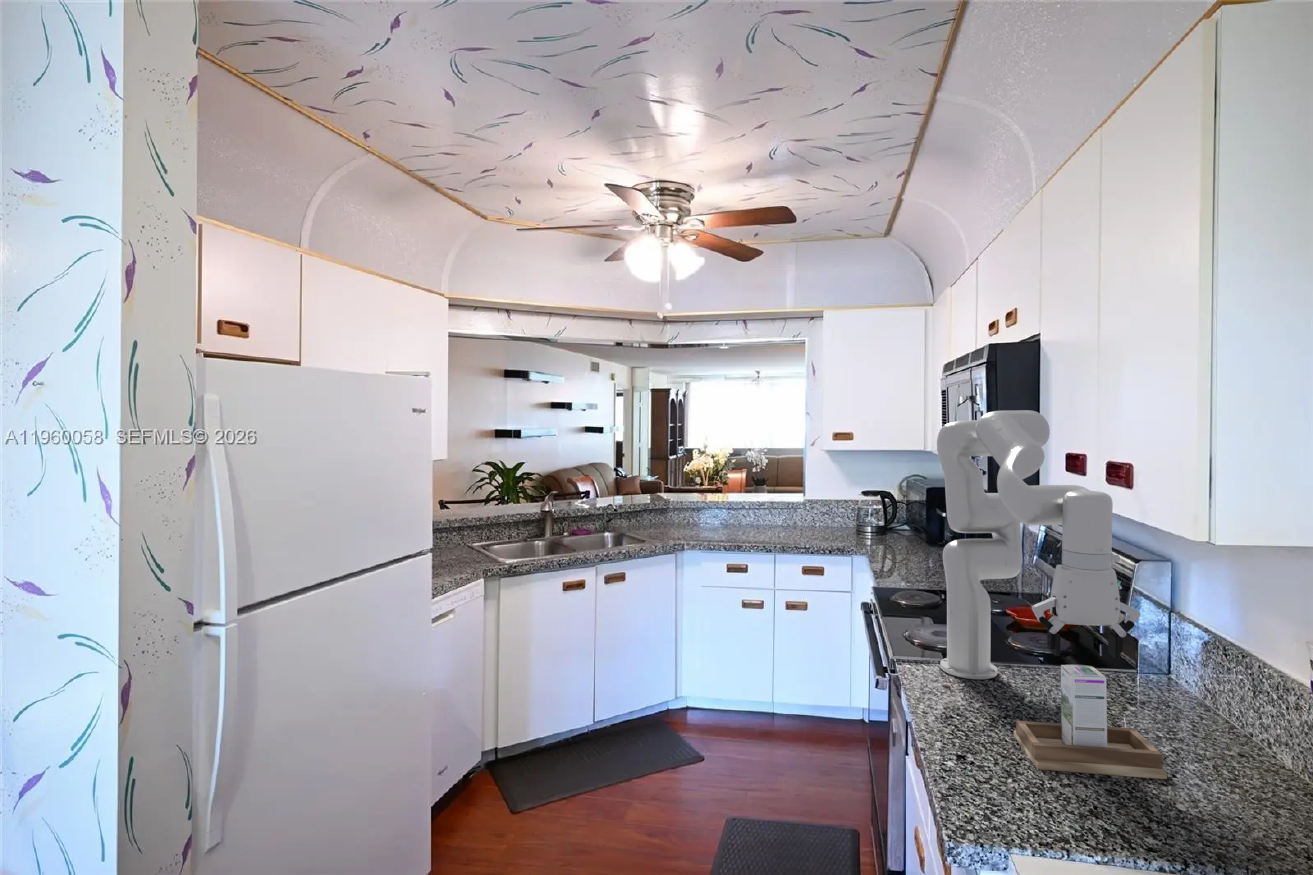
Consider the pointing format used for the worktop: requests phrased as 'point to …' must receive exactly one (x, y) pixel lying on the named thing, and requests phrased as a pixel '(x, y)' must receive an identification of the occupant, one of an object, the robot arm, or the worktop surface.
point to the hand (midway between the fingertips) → (1084, 654)
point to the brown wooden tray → (1090, 752)
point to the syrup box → (1083, 706)
